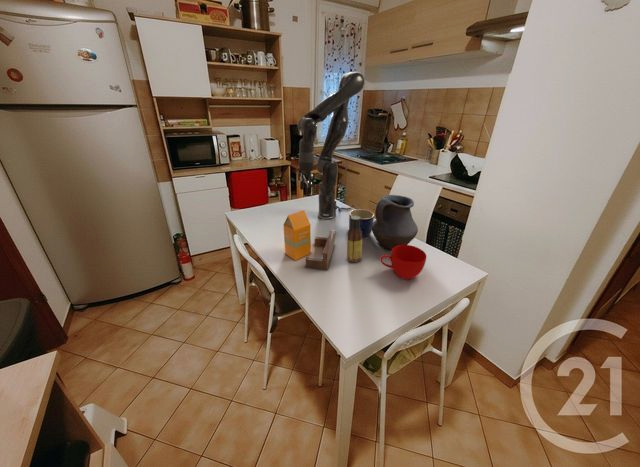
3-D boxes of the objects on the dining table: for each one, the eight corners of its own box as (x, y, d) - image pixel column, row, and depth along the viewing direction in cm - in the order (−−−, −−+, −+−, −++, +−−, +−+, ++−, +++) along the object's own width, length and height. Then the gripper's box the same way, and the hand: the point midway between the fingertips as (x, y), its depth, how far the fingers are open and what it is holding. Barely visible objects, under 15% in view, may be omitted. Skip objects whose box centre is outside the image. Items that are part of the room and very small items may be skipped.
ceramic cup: (375, 264, 111) (378, 244, 106) (416, 265, 110) (420, 245, 106) (381, 284, 99) (384, 262, 95) (426, 285, 99) (431, 263, 94)
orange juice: (311, 253, 118) (310, 212, 109) (295, 260, 113) (293, 218, 104) (300, 246, 123) (298, 207, 114) (284, 253, 118) (282, 212, 109)
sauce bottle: (362, 256, 116) (366, 215, 107) (359, 264, 111) (363, 221, 101) (347, 253, 118) (350, 213, 108) (344, 261, 112) (347, 219, 103)
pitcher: (423, 250, 121) (434, 199, 110) (389, 264, 111) (397, 209, 99) (391, 232, 137) (398, 186, 125) (358, 243, 127) (362, 194, 115)
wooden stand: (305, 267, 109) (305, 251, 105) (315, 243, 126) (315, 229, 122) (327, 270, 107) (327, 253, 103) (334, 245, 124) (334, 230, 121)
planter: (363, 226, 143) (365, 207, 138) (377, 236, 133) (379, 216, 128) (343, 230, 138) (344, 211, 133) (356, 241, 129) (358, 220, 124)
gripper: (319, 163, 129) (318, 194, 136) (306, 157, 140) (305, 187, 147) (305, 163, 126) (305, 196, 133) (293, 158, 137) (293, 188, 144)
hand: (305, 191), depth 140 cm, fingers open, 8 cm apart
